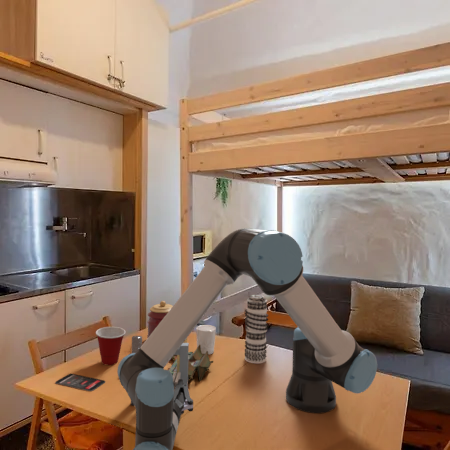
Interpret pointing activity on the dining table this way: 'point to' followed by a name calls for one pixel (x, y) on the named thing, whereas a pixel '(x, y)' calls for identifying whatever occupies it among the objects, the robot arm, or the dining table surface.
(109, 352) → the plastic cup
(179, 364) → the latch post
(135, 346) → the hinge post
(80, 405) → the dining table surface
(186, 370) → the grey rectangular frame
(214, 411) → the dining table surface
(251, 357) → the decorative candle
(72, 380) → the smartphone
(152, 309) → the canister
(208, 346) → the white cup
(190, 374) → the miniature gate
